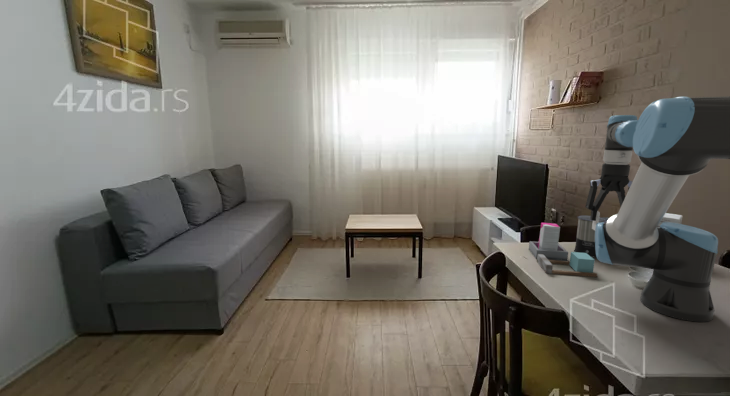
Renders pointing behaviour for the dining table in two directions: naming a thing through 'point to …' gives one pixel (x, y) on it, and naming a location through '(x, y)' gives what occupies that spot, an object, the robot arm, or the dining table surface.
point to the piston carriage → (581, 262)
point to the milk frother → (586, 236)
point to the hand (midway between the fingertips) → (606, 230)
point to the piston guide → (548, 268)
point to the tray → (549, 252)
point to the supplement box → (549, 236)
